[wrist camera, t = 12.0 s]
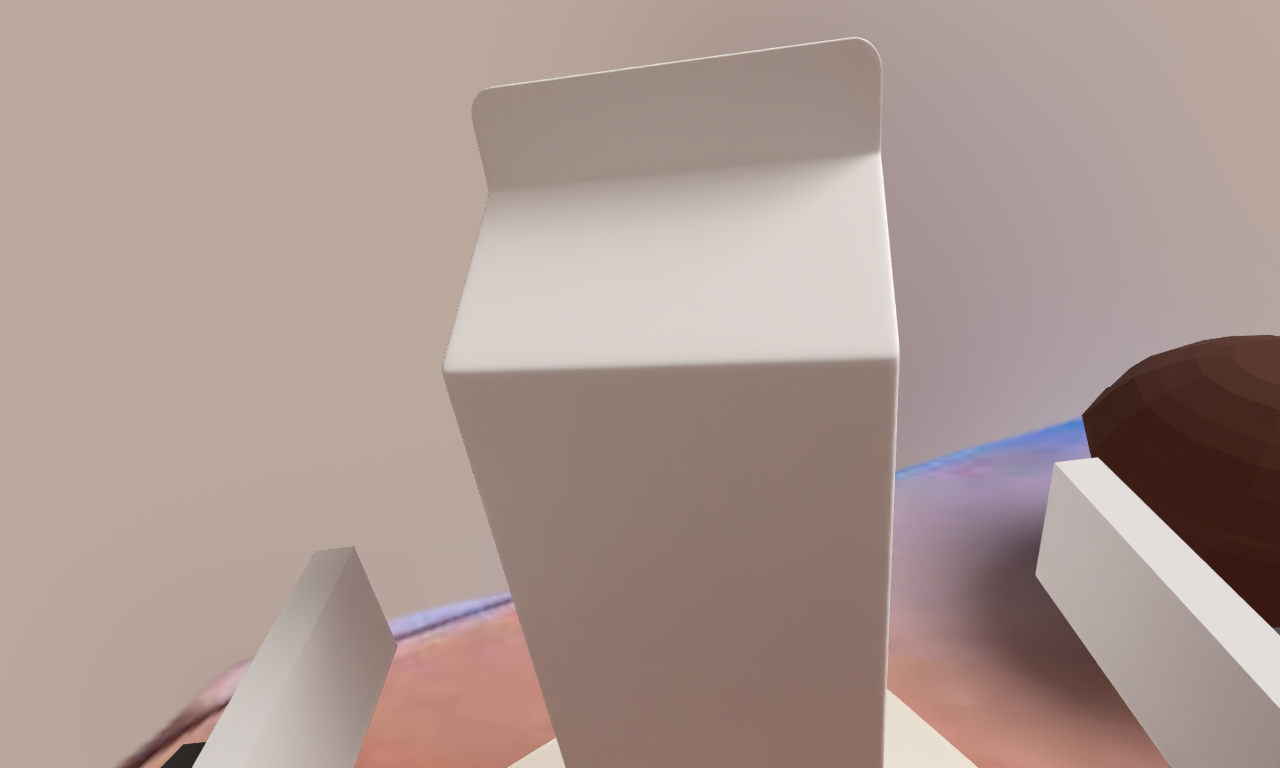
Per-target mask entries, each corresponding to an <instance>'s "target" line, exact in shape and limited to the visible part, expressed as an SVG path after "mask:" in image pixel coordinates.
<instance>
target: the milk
mask: <svg viewBox="0 0 1280 768" xmlns="http://www.w3.org/2000/svg"><path fill="white" fill-rule="evenodd" d="M881 116H882V63H881V59H880V56H879V54H878V52H877V50H876V48H875V47H874V46H873V45H872V44H871V43H870V42H868V41H867V40H865V39H862V38H858V37H853V38H843V39H837V40H829V41H822V42H814V43H807V44H800V45H792V46H785V47H778V48H770V49H764V50H756V51H749V52H742V53H735V54H727V55H720V56H713V57H705V58H699V59H691V60H683V61H676V62H669V63H662V64H654V65H647V66H640V67H632V68H625V69H618V70H611V71H604V72H596V73H589V74H581V75H574V76H567V77H559V78H553V79H546V80H538V81H531V82H523V83H517V84H509V85H502V86H494V87H489V88H486V89H483V90H482V91H481V92H479V93H478V95H477V96H476V97H475V99H474V102H473V105H472V121H473V125H474V130H475V134H476V138H477V143H478V147H479V151H480V155H481V159H482V163H483V167H484V172H485V176H486V180H487V185H488V190H489V195H488V199H487V203H486V207H485V210H484V214H483V218H482V221H481V225H480V229H479V232H478V236H477V240H476V243H475V247H474V251H473V254H472V258H471V262H470V265H469V269H468V273H467V276H466V280H465V284H464V287H463V291H462V294H461V298H460V302H459V305H458V309H457V313H456V317H455V320H454V324H453V327H452V331H451V335H450V338H449V342H448V346H447V349H446V353H445V357H444V362H443V367H442V372H443V377H444V380H445V384H446V387H447V391H448V394H449V397H450V400H451V403H452V407H453V410H454V412H455V416H456V419H457V423H458V425H459V429H460V432H461V435H462V439H463V441H464V445H465V448H466V451H467V454H468V458H469V461H470V464H471V467H472V470H473V474H474V477H475V480H476V483H477V486H478V489H479V493H480V496H481V499H482V502H483V506H484V508H485V512H486V515H487V518H488V521H489V525H490V528H491V531H492V534H493V538H494V541H495V544H496V547H497V550H498V554H499V557H500V560H501V563H502V566H503V569H504V573H505V576H506V579H507V582H508V585H509V589H510V592H511V595H512V598H513V601H514V605H515V608H516V611H517V614H518V617H519V621H520V624H521V627H522V630H523V633H524V637H525V640H526V643H527V646H528V649H529V653H530V656H531V659H532V662H533V665H534V669H535V672H536V675H537V678H538V681H539V685H540V688H541V691H542V694H543V697H544V700H545V704H546V707H547V710H548V713H549V716H550V720H551V723H552V726H553V729H554V732H555V736H556V739H557V742H558V745H559V748H560V752H561V755H562V758H563V761H564V764H565V768H884V743H885V718H886V692H887V666H888V640H889V614H890V588H891V562H892V536H893V511H894V485H895V459H896V458H895V457H896V432H897V407H898V381H899V338H898V327H897V317H896V307H895V297H894V286H893V276H892V265H891V255H890V244H889V234H888V225H887V213H886V204H885V193H884V183H883V172H882V162H881V119H882V117H881Z"/></svg>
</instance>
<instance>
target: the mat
mask: <svg viewBox="0 0 1280 768" xmlns="http://www.w3.org/2000/svg"><path fill="white" fill-rule="evenodd" d="M508 768H565V764H564V761H563V758H562V755H561V752H560V748H559V745H558V742H557V739H556V738H554V739H553V740H551V741H549V742H548V743H546V744H545V745H543V746H541V747H540V748H538V749H537V750H535V751H533V752H532V753H530V754H528V755H527V756H525V757H524V758H522V759H520V760H519V761H517V762H516V763H514V764H512V765H511V766H509V767H508ZM884 768H978V767H977V766H976V765H974V764H973V763H972V762H971V761H970V760H969V759H967V758H966V757H965V756H964V755H963V754H962V753H961V752H959V751H958V750H957V749H956V748H955V747H954V746H953V745H951V744H950V743H949V742H948V741H947V740H946V739H944V738H943V737H942V736H941V735H940V734H939V733H938V732H936V731H935V730H934V729H933V728H932V727H931V726H929V725H928V724H927V723H926V722H925V721H924V720H923V719H921V718H920V717H919V716H918V715H917V714H916V713H915V712H913V711H912V710H911V709H910V708H909V707H908V706H906V705H905V704H904V703H903V702H902V701H901V700H900V699H898V698H897V697H896V696H895V695H894V694H893V693H891V692H890V691H889V690H888V689H887V692H886V718H885V743H884Z"/></svg>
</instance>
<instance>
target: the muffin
mask: <svg viewBox="0 0 1280 768" xmlns="http://www.w3.org/2000/svg"><path fill="white" fill-rule="evenodd" d="M1082 418H1083V422H1084V427H1085V431H1086V436H1087V441H1088V445H1089V450H1090V453H1091V458H1097V457H1098V458H1099V459H1100V460H1101V461H1102V462H1103V463H1104V464H1105V465H1106V466H1107V467H1108V468H1109V469H1110V470H1111V471H1112V472H1113V473H1114V474H1115V475H1116V476H1117V477H1118V478H1119V479H1120V480H1121V481H1122V482H1123V483H1125V484H1126V485H1127V486H1128V487H1129V488H1130V489H1131V490H1132V491H1133V492H1134V493H1135V494H1136V495H1137V496H1138V497H1139V498H1140V499H1141V500H1142V501H1143V502H1144V503H1145V504H1146V505H1147V506H1148V507H1149V508H1150V509H1151V510H1152V511H1153V512H1154V513H1155V514H1156V515H1157V516H1158V517H1159V518H1160V519H1161V520H1162V521H1163V522H1164V523H1165V524H1166V525H1167V526H1168V527H1169V528H1170V529H1171V530H1173V531H1174V532H1175V533H1176V534H1177V535H1178V536H1179V537H1180V538H1181V539H1182V540H1183V541H1184V542H1185V543H1186V544H1187V545H1188V546H1189V547H1190V548H1191V549H1192V550H1193V551H1194V552H1195V553H1196V554H1197V555H1198V556H1199V557H1200V558H1201V559H1202V560H1203V561H1204V562H1205V563H1206V564H1207V565H1208V566H1209V567H1210V568H1211V569H1212V570H1213V571H1214V572H1215V573H1216V574H1217V575H1218V576H1219V577H1221V578H1222V579H1223V580H1224V581H1225V582H1226V583H1227V584H1228V585H1229V586H1230V587H1231V588H1232V589H1233V590H1234V591H1235V592H1236V593H1237V594H1238V595H1239V596H1240V597H1241V598H1242V599H1243V600H1244V601H1245V602H1246V603H1247V604H1248V605H1249V606H1250V607H1251V608H1252V609H1253V610H1254V611H1255V612H1256V613H1257V614H1258V615H1259V616H1260V617H1261V618H1262V619H1263V620H1264V621H1265V622H1266V623H1268V624H1269V625H1270V626H1271V627H1272V628H1278V627H1280V336H1273V335H1256V336H1229V337H1223V338H1216V339H1209V340H1203V341H1200V342H1196V343H1193V344H1189V345H1186V346H1183V347H1179V348H1176V349H1173V350H1169V351H1166V352H1163V353H1160V354H1156V355H1153V356H1150V357H1148V358H1146V359H1145V360H1143V361H1141V362H1140V363H1138V364H1136V365H1135V366H1133V367H1131V368H1130V369H1129V370H1128V371H1127V372H1126V373H1125V374H1124V375H1122V376H1121V377H1120V378H1119V379H1118V380H1117V381H1116V382H1115V383H1114V384H1113V385H1112V386H1111V387H1108V388H1106V389H1105V390H1104V391H1103V392H1102V394H1101V395H1100V396H1099V397H1098V398H1097V399H1096V400H1095V401H1094V402H1093V403H1092V405H1091V406H1090V407H1089V408H1088V409H1087V410H1086V411H1085V412H1084V413H1083V415H1082Z"/></svg>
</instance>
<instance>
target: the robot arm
mask: <svg viewBox="0 0 1280 768" xmlns="http://www.w3.org/2000/svg"><path fill="white" fill-rule="evenodd" d="M1035 575H1036V577H1037V578H1038V580H1039V581H1040V583H1041V584H1042V585H1043V587H1044V588H1045V590H1046V591H1047V593H1048V594H1049V595H1050V597H1051V598H1052V600H1053V601H1054V602H1055V604H1056V605H1057V607H1058V608H1059V610H1060V611H1061V612H1062V614H1063V615H1064V617H1065V618H1066V619H1067V621H1068V622H1069V624H1070V625H1071V627H1072V628H1073V629H1074V631H1075V632H1076V634H1077V635H1078V637H1079V638H1080V639H1081V641H1082V642H1083V644H1084V645H1085V646H1086V648H1087V649H1088V651H1089V652H1090V654H1091V655H1092V656H1093V658H1094V659H1095V661H1096V662H1097V664H1098V665H1099V666H1100V668H1101V669H1102V671H1103V672H1104V673H1105V675H1106V676H1107V678H1108V679H1109V681H1110V682H1111V683H1112V685H1113V686H1114V688H1115V689H1116V691H1117V692H1118V693H1119V695H1120V696H1121V698H1122V699H1123V700H1124V702H1125V703H1126V705H1127V706H1128V708H1129V709H1130V710H1131V712H1132V713H1133V715H1134V716H1135V718H1136V719H1137V720H1138V722H1139V723H1140V725H1141V726H1142V727H1143V729H1144V730H1145V732H1146V733H1147V735H1148V736H1149V737H1150V739H1151V740H1152V742H1153V743H1154V744H1155V746H1156V747H1157V749H1158V750H1159V752H1160V753H1161V754H1162V756H1163V757H1164V759H1165V760H1166V762H1167V763H1168V764H1169V766H1170V767H1171V768H1280V627H1278V628H1272V627H1271V626H1270V625H1269V624H1268V623H1266V622H1265V621H1264V620H1263V619H1262V618H1261V617H1260V616H1259V615H1258V614H1257V613H1256V612H1255V611H1254V610H1253V609H1252V608H1251V607H1250V606H1249V605H1248V604H1247V603H1246V602H1245V601H1244V600H1243V599H1242V598H1241V597H1240V596H1239V595H1238V594H1237V593H1236V592H1235V591H1234V590H1233V589H1232V588H1231V587H1230V586H1229V585H1228V584H1227V583H1226V582H1225V581H1224V580H1223V579H1222V578H1221V577H1219V576H1218V575H1217V574H1216V573H1215V572H1214V571H1213V570H1212V569H1211V568H1210V567H1209V566H1208V565H1207V564H1206V563H1205V562H1204V561H1203V560H1202V559H1201V558H1200V557H1199V556H1198V555H1197V554H1196V553H1195V552H1194V551H1193V550H1192V549H1191V548H1190V547H1189V546H1188V545H1187V544H1186V543H1185V542H1184V541H1183V540H1182V539H1181V538H1180V537H1179V536H1178V535H1177V534H1176V533H1175V532H1174V531H1173V530H1171V529H1170V528H1169V527H1168V526H1167V525H1166V524H1165V523H1164V522H1163V521H1162V520H1161V519H1160V518H1159V517H1158V516H1157V515H1156V514H1155V513H1154V512H1153V511H1152V510H1151V509H1150V508H1149V507H1148V506H1147V505H1146V504H1145V503H1144V502H1143V501H1142V500H1141V499H1140V498H1139V497H1138V496H1137V495H1136V494H1135V493H1134V492H1133V491H1132V490H1131V489H1130V488H1129V487H1128V486H1127V485H1126V484H1125V483H1123V482H1122V481H1121V480H1120V479H1119V478H1118V477H1117V476H1116V475H1115V474H1114V473H1113V472H1112V471H1111V470H1110V469H1109V468H1108V467H1107V466H1106V465H1105V464H1104V463H1103V462H1102V461H1101V460H1100V459H1099V458H1098V457H1097V458H1088V459H1080V460H1072V461H1063V462H1055V463H1054V468H1053V474H1052V480H1051V486H1050V492H1049V498H1048V503H1047V509H1046V515H1045V521H1044V527H1043V533H1042V539H1041V544H1040V550H1039V556H1038V562H1037V568H1036V574H1035ZM396 649H397V644H396V642H395V639H394V637H393V635H392V632H391V630H390V628H389V626H388V623H387V621H386V619H385V616H384V614H383V612H382V610H381V607H380V605H379V603H378V601H377V598H376V596H375V594H374V591H373V589H372V587H371V584H370V582H369V580H368V578H367V575H366V573H365V571H364V568H363V566H362V564H361V561H360V559H359V557H358V555H357V552H356V550H355V548H354V547H345V548H337V549H328V550H320V551H315V553H314V554H313V556H312V558H311V560H310V561H309V563H308V565H307V567H306V568H305V570H304V572H303V574H302V576H301V577H300V579H299V581H298V583H297V584H296V586H295V588H294V589H293V591H292V593H291V595H290V597H289V598H288V600H287V602H286V604H285V606H284V607H283V609H282V611H281V612H280V614H279V616H278V618H277V619H276V621H275V623H274V625H273V626H272V628H271V630H270V632H269V634H268V635H267V637H266V639H265V640H264V642H263V644H262V646H261V648H260V649H259V651H258V653H257V654H256V656H255V658H254V660H253V661H252V663H251V665H250V667H249V668H248V670H247V672H246V674H245V675H244V677H243V679H242V681H241V682H240V684H239V686H238V688H237V690H236V691H235V693H234V695H233V697H232V698H231V700H230V702H229V704H228V705H227V707H226V709H225V711H224V712H223V714H222V716H221V718H220V719H219V721H218V723H217V725H216V726H215V728H214V730H213V732H212V733H211V735H210V737H209V739H208V740H207V742H202V743H192V744H183V745H182V746H181V747H180V748H179V749H178V750H177V751H176V753H175V754H174V755H173V756H172V757H171V758H170V759H169V760H168V761H167V762H166V763H165V764H164V765H163V766H162V767H161V768H354V766H355V763H356V760H357V757H358V755H359V752H360V749H361V746H362V743H363V741H364V738H365V735H366V732H367V730H368V727H369V724H370V721H371V718H372V716H373V713H374V710H375V707H376V704H377V702H378V699H379V696H380V693H381V691H382V688H383V685H384V682H385V679H386V677H387V674H388V671H389V668H390V666H391V663H392V660H393V657H394V654H395V652H396Z"/></svg>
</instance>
